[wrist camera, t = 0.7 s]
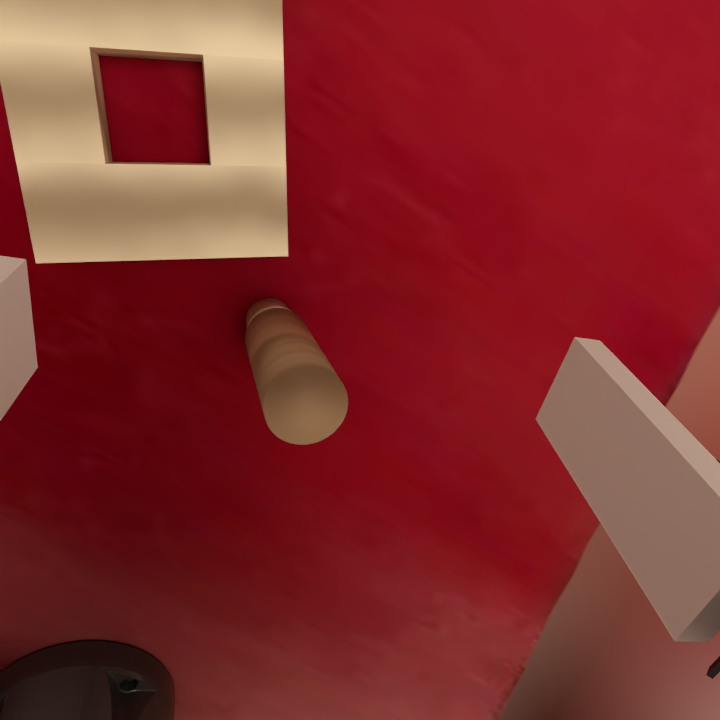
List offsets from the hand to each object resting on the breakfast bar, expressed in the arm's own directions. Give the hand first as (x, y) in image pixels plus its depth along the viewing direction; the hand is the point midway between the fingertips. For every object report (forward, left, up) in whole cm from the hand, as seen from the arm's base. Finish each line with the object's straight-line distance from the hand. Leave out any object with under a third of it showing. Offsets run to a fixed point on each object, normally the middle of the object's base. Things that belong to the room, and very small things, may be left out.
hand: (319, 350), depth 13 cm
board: (+6, +4, -24) cm, 25 cm away
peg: (-7, -2, -24) cm, 25 cm away
